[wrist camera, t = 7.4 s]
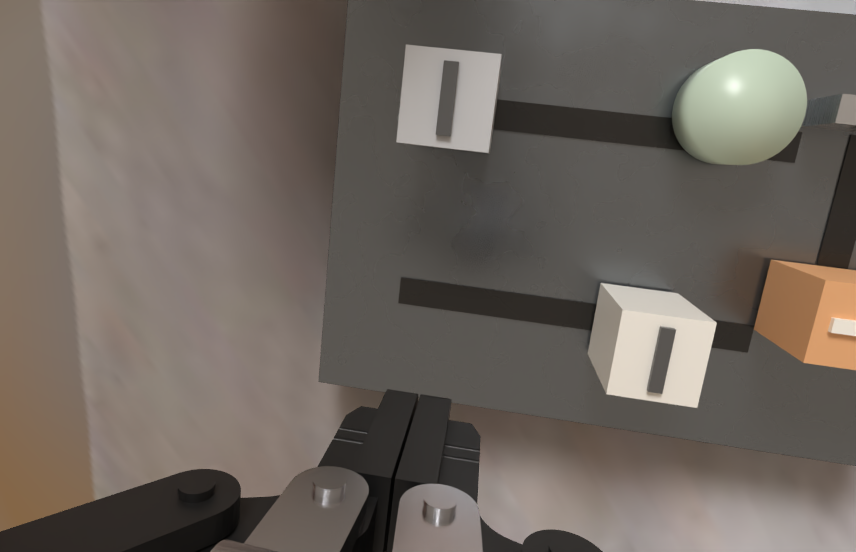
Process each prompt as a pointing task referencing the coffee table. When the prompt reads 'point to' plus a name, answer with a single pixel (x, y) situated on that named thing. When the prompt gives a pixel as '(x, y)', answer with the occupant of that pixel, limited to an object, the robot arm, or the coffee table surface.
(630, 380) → the ivory slider
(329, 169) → the coffee table surface
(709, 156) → the pale green dome
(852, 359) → the tan box with strip
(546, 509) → the coffee table surface
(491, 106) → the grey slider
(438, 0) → the panel
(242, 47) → the coffee table surface
